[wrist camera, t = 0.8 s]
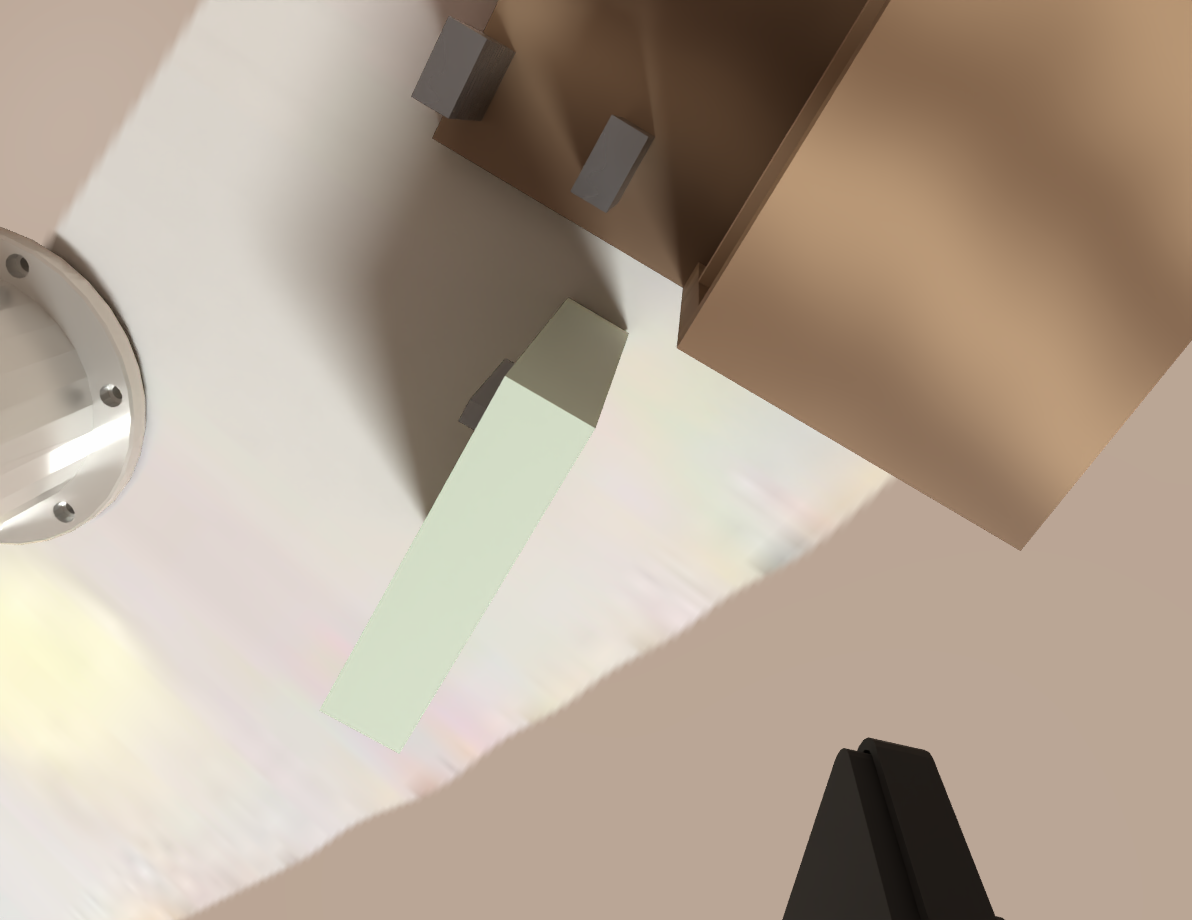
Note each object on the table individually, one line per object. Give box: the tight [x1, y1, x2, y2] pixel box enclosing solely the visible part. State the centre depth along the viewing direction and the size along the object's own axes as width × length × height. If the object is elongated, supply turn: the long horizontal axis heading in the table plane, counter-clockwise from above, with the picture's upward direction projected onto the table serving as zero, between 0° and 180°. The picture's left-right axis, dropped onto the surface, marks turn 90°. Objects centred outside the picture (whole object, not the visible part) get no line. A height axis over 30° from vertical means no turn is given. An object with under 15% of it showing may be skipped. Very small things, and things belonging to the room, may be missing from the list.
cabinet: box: [433, 0, 1192, 551], centre depth 27 cm, size 14×20×11 cm
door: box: [319, 298, 629, 754], centre depth 31 cm, size 11×3×12 cm, turn 150°
